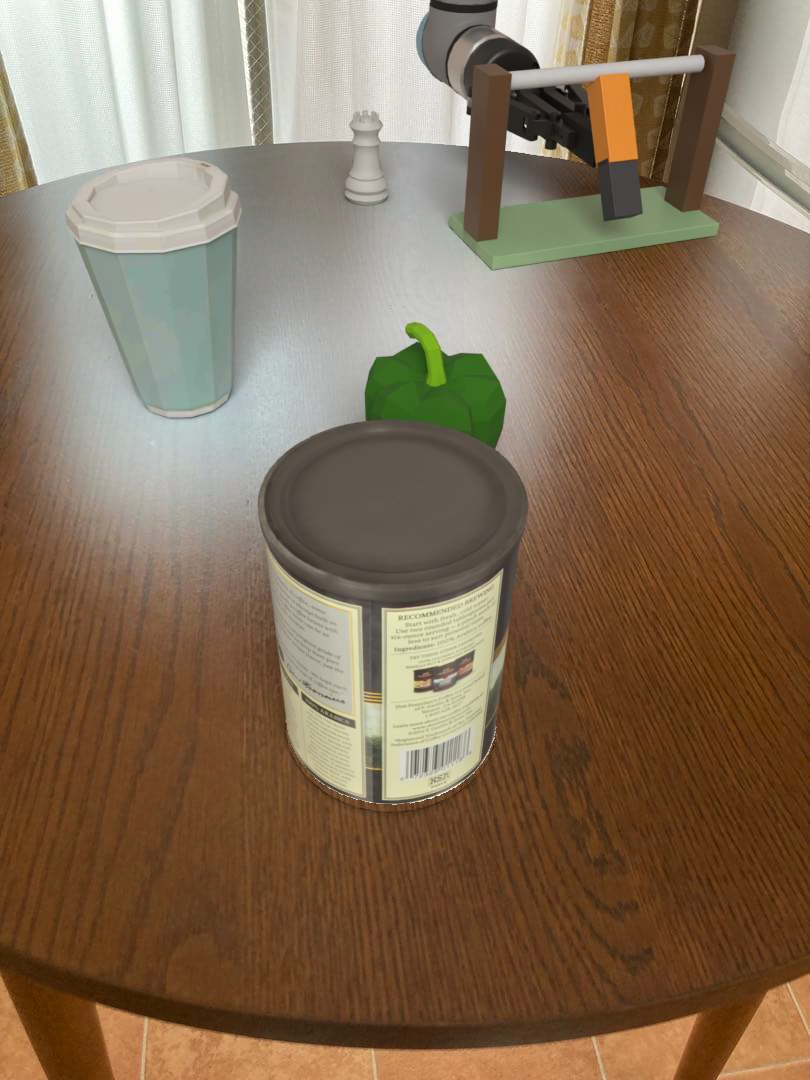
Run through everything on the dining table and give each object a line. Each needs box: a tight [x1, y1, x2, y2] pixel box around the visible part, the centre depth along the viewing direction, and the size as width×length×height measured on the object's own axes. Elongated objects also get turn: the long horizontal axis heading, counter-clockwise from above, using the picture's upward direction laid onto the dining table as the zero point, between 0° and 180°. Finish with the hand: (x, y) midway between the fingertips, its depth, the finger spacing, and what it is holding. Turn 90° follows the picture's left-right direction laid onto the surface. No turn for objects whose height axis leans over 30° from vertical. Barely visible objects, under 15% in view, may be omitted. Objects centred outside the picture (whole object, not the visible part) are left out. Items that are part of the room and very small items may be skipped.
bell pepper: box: [364, 321, 507, 450], centre depth 55 cm, size 8×8×10 cm
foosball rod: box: [510, 54, 705, 221], centre depth 80 cm, size 19×2×13 cm
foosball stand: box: [448, 44, 737, 271], centre depth 83 cm, size 24×10×15 cm, turn 111°
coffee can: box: [257, 419, 529, 805], centre depth 40 cm, size 10×10×14 cm
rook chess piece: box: [344, 109, 390, 206], centre depth 90 cm, size 4×4×8 cm
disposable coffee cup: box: [64, 156, 243, 419], centre depth 61 cm, size 11×11×15 cm
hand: (602, 151), depth 82 cm, fingers closed
